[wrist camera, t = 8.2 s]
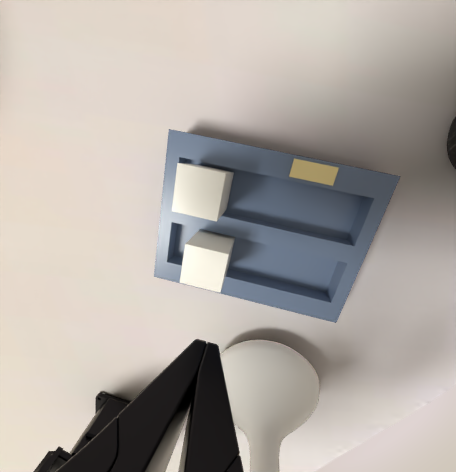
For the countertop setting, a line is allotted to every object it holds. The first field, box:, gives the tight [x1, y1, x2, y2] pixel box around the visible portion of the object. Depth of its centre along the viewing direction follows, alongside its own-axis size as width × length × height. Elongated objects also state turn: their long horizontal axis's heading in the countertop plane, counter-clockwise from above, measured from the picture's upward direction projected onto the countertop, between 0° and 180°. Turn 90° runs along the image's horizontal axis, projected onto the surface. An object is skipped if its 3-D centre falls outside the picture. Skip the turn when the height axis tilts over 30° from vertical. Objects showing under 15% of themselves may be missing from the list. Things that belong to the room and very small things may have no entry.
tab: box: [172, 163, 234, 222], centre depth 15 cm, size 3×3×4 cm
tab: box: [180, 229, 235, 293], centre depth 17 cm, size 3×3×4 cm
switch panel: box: [154, 129, 400, 323], centre depth 18 cm, size 12×16×3 cm
